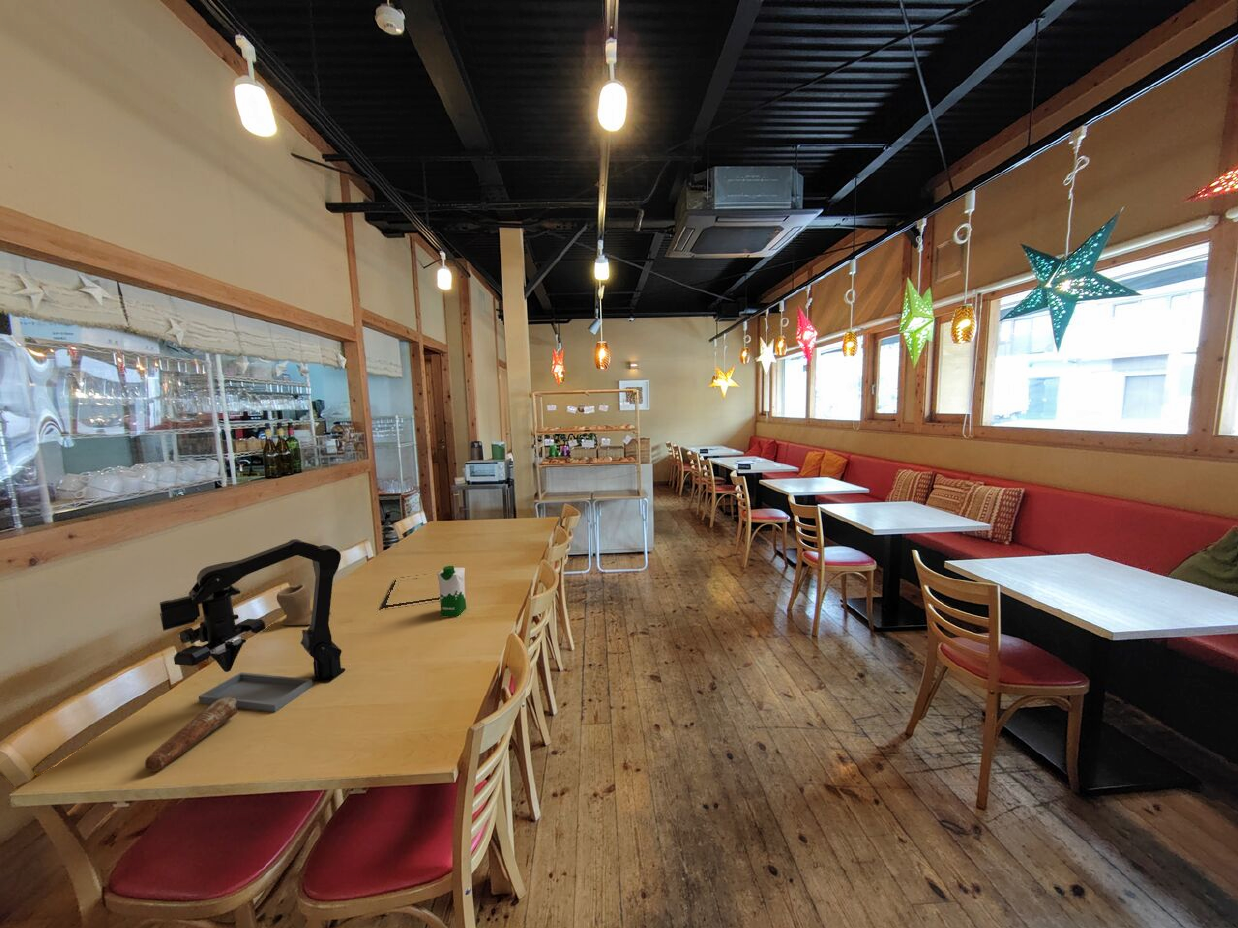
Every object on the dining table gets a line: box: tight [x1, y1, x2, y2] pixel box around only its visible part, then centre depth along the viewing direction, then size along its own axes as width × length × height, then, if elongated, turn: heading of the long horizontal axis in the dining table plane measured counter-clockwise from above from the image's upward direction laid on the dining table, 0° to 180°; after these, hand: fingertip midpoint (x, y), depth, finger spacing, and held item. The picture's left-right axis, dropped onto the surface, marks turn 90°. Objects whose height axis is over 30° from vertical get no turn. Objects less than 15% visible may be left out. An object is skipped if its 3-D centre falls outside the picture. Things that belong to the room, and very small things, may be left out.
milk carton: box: [437, 565, 467, 617], centre depth 175 cm, size 9×9×20 cm
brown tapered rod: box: [144, 697, 239, 773], centre depth 108 cm, size 6×19×6 cm, turn 174°
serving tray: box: [198, 671, 313, 713], centre depth 127 cm, size 25×12×2 cm, turn 80°
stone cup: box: [276, 583, 332, 626], centre depth 171 cm, size 15×12×15 cm
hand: (227, 671), depth 117 cm, fingers closed
